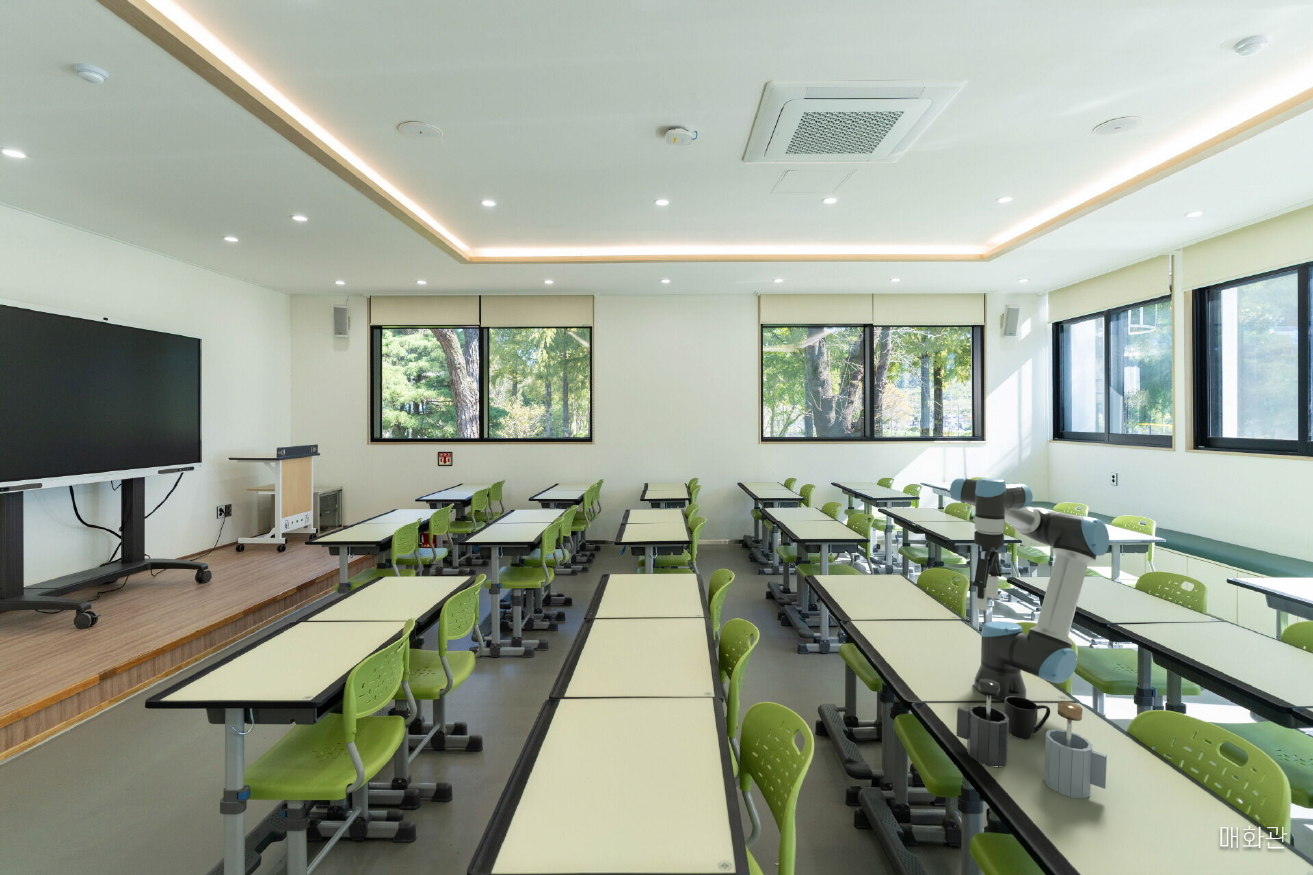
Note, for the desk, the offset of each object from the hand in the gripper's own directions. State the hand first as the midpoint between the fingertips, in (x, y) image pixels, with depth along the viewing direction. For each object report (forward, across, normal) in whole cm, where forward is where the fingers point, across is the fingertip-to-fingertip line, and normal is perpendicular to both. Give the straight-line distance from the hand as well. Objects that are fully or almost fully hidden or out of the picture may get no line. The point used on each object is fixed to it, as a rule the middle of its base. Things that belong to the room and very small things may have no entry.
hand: (986, 603), depth 167 cm
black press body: (+39, +13, +2) cm, 41 cm away
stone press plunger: (+36, +13, +22) cm, 44 cm away
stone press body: (+39, +13, +23) cm, 47 cm away
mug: (+39, -7, +10) cm, 41 cm away
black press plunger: (+36, +13, +4) cm, 38 cm away
